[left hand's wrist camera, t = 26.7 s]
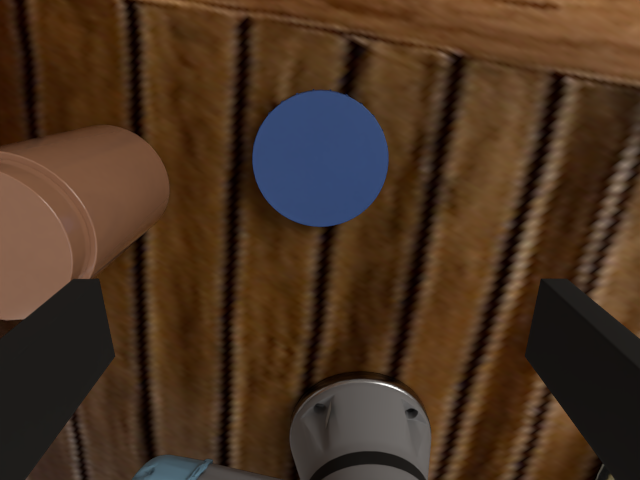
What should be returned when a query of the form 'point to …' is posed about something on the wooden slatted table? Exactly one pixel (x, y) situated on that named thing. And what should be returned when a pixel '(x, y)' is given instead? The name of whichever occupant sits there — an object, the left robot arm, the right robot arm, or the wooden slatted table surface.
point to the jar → (72, 209)
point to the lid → (320, 158)
